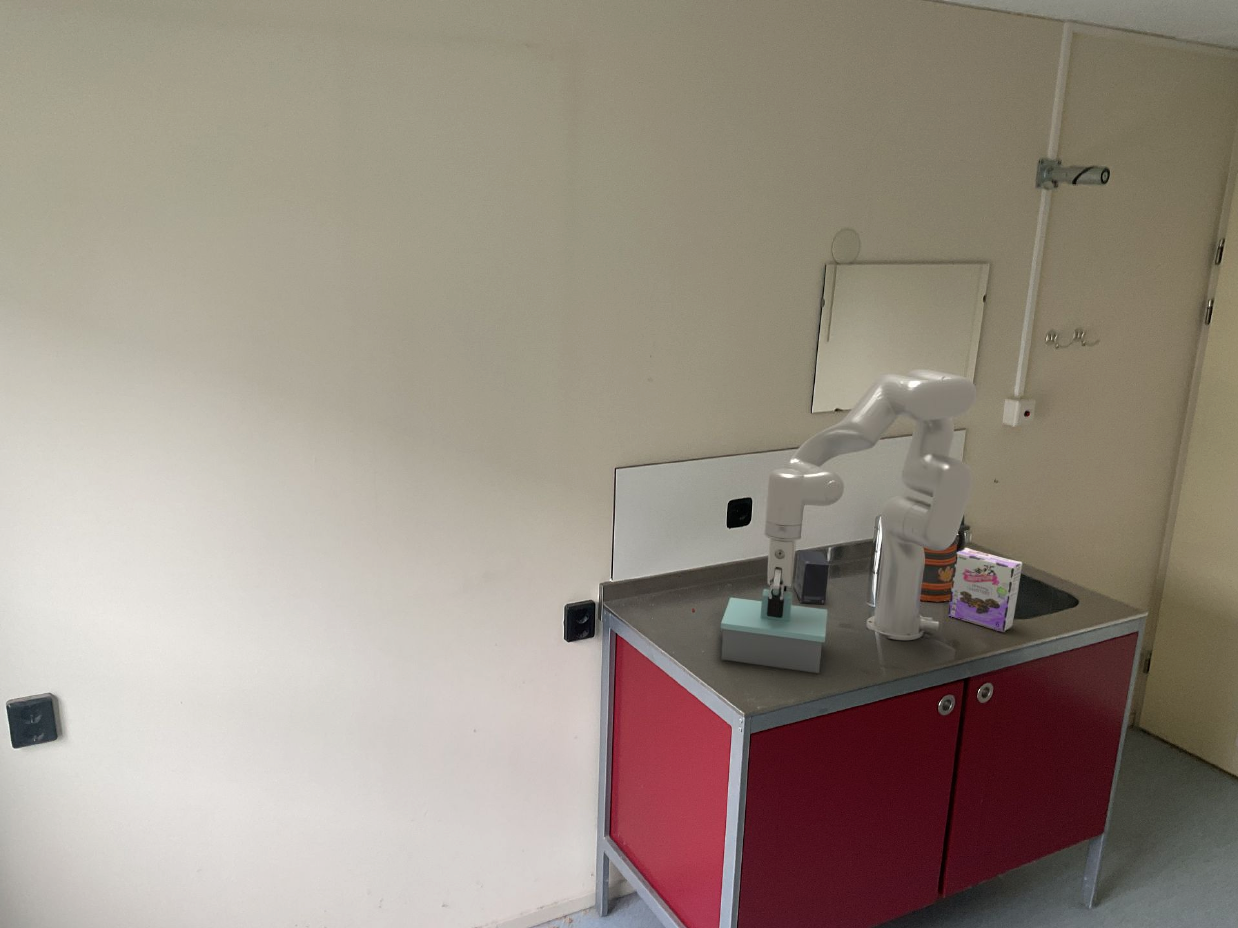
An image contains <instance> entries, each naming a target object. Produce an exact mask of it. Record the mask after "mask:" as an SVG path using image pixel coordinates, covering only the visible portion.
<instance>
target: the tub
mask: <svg viewBox="0 0 1238 928" xmlns="http://www.w3.org/2000/svg"><path fill="white" fill-rule="evenodd" d="M721 644H722V645H721V657H720V659H721V660H724V661H730V662H738V663H745V664H751V665H758V666H766V667H772V668H777V669H778V668H779V669H784V670H785V669H787V670H793V671H800V672H806V673H807V672H808V673H814V674H819V673H820V668H821V667H820V666H821V658H822V646H823V645H822V644H823V642H817V641H810V640H803V639H795V638H788V637H780V636H773V635H766V634H758V633H751V632H743V631H736V630H728V629H723V631H722V643H721Z"/></svg>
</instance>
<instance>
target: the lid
mask: <svg viewBox="0 0 1238 928" xmlns="http://www.w3.org/2000/svg"><path fill="white" fill-rule="evenodd" d="M769 595H770V588H769V589H767V588H764V589H763V592H762V595H761V600H754V599H744V598H737V597H729V600H728V603H727V606H726V609H725V611H724V614H723V617H722V620H721V622H720V629H728V630H736V631H743V632H751V633H758V634H766V635H773V636H780V637H788V638H795V639H803V640H810V641H817V642H822V643H826V642H825V640H826V632H827V620H828V609H825V608H817V607H809V606H799V605H793V604H792V602H793V592H792V591H786V592H785V591H784V592H783V599H784V606H783V616H782V618H777V617H769V616H767V607H768V597H769Z"/></svg>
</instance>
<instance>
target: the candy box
mask: <svg viewBox="0 0 1238 928" xmlns="http://www.w3.org/2000/svg"><path fill="white" fill-rule="evenodd" d="M1022 569H1023V562H1022V561H1020V560H1019V561H1018V560H1013V559H1011V558H1010V559H1009V558H1005V557H1003V556H1002V557H1001V556H997V555H993V554H990V553H987V552H986V553H985V552H982V551H980V550H975V549H971V548H969V547H964V549H963V550H961V551H959V552H957V554H956V561H955V568H954V575H953V582H952V589H951V597H950V600H949V606H948V612H947V616H948V617H949V616H951V617H950V618H952V617H955V618H960V619H965V620H968V621H974V622H977V623H980V624H983V625H987V626H989V627H993V628H994V629H998V630H1003V631H1004V630H1006V629H1008V628H1009V627H1011V626H1012V625H1013V626H1014V617H1015V612H1016V605H1017V599H1018V594H1019V588H1020V587H1019V586H1020V581H1021V580H1020V579H1021V574H1022ZM955 618H954V619H955Z"/></svg>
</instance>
